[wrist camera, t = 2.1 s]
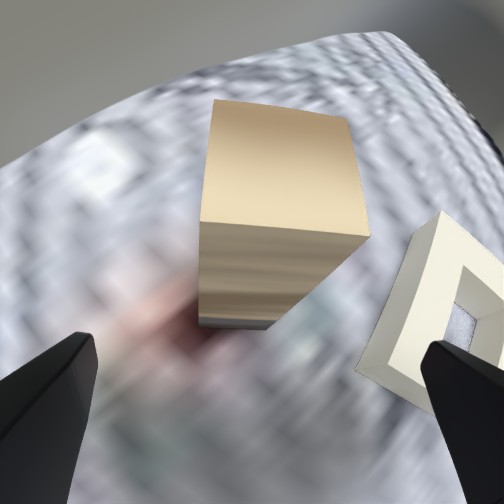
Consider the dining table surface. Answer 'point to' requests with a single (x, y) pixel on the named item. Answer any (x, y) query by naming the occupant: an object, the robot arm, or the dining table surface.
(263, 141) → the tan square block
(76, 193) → the dining table surface
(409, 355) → the square ring frame
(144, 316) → the dining table surface
